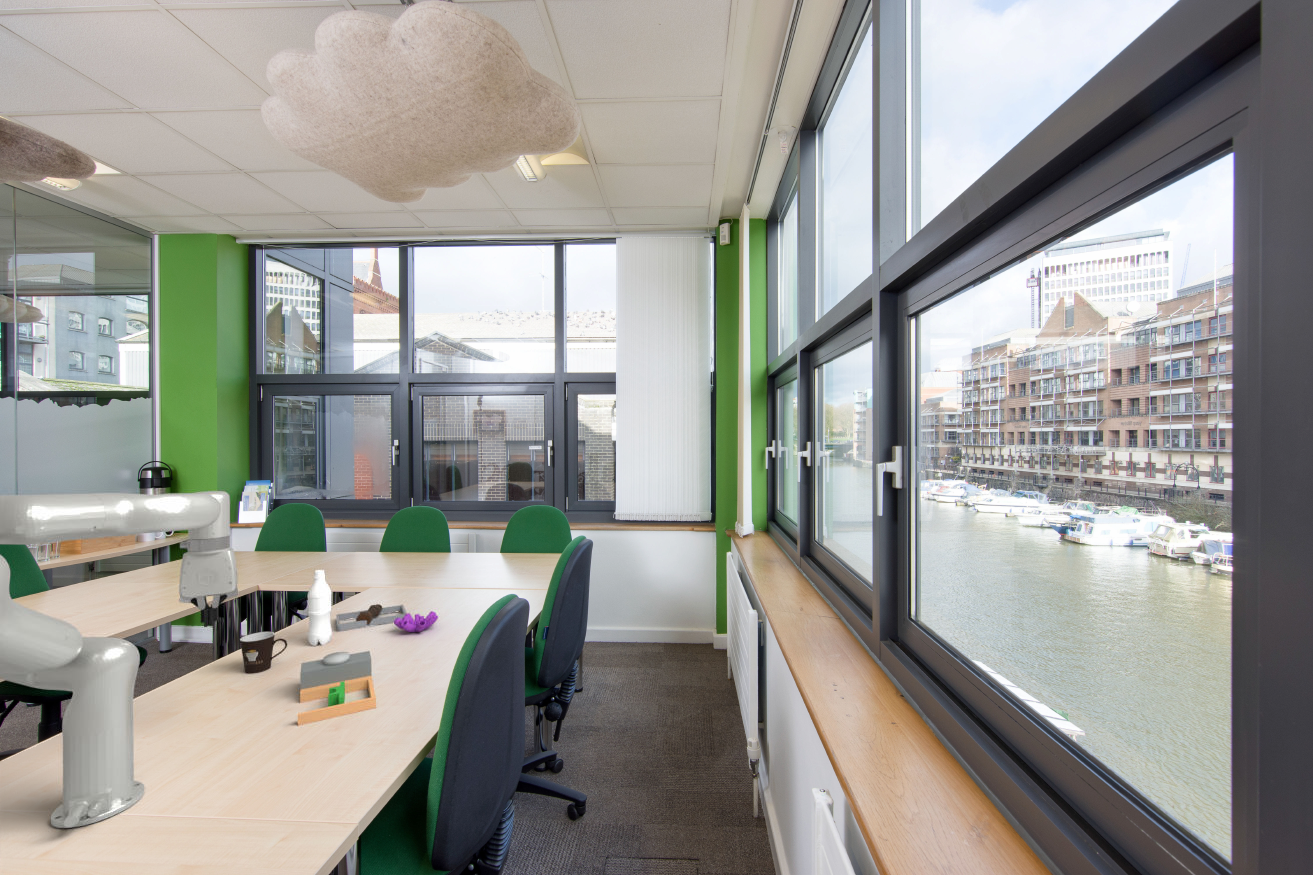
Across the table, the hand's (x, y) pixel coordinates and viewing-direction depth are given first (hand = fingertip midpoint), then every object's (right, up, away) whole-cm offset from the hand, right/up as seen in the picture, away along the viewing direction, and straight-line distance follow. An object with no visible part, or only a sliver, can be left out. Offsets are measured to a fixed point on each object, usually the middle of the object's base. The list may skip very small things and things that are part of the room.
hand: (209, 624), depth 129 cm
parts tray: (-7, -28, +88) cm, 93 cm away
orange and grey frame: (+17, -27, +22) cm, 39 cm away
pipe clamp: (+19, -27, +17) cm, 38 cm away
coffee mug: (-17, -28, +42) cm, 53 cm away
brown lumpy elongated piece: (-7, -28, +88) cm, 93 cm away
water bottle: (-13, -28, +64) cm, 71 cm away
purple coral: (+16, -28, +75) cm, 81 cm away
